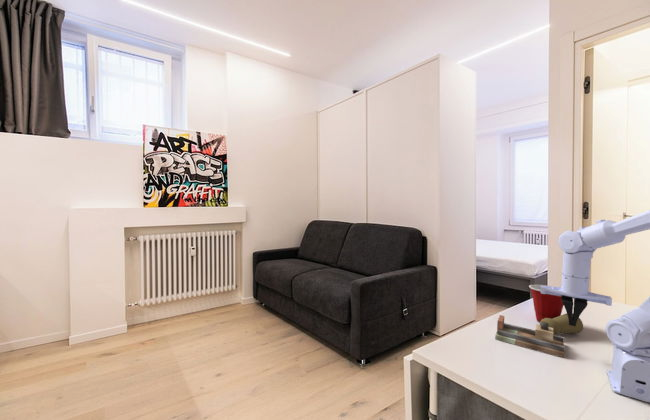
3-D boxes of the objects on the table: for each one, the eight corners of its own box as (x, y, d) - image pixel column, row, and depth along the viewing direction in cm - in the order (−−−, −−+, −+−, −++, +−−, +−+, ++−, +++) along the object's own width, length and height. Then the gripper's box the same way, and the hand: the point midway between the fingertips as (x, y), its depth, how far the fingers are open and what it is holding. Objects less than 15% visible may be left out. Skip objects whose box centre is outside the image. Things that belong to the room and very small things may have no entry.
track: (563, 343, 85) (564, 327, 85) (564, 357, 78) (565, 339, 78) (499, 328, 95) (500, 312, 95) (495, 339, 88) (495, 322, 87)
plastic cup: (557, 317, 104) (559, 283, 103) (574, 331, 93) (576, 294, 92) (522, 313, 106) (523, 281, 106) (534, 326, 96) (536, 290, 95)
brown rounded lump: (585, 335, 89) (556, 341, 87) (564, 330, 95) (537, 335, 92) (581, 314, 90) (552, 319, 87) (561, 311, 96) (534, 315, 93)
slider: (552, 340, 85) (553, 322, 84) (552, 346, 81) (553, 327, 81) (535, 336, 87) (536, 318, 87) (534, 341, 84) (535, 323, 83)
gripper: (610, 277, 78) (606, 326, 79) (542, 268, 87) (539, 312, 88) (614, 283, 73) (610, 337, 73) (541, 273, 81) (538, 320, 82)
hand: (572, 324), depth 80 cm, fingers closed
